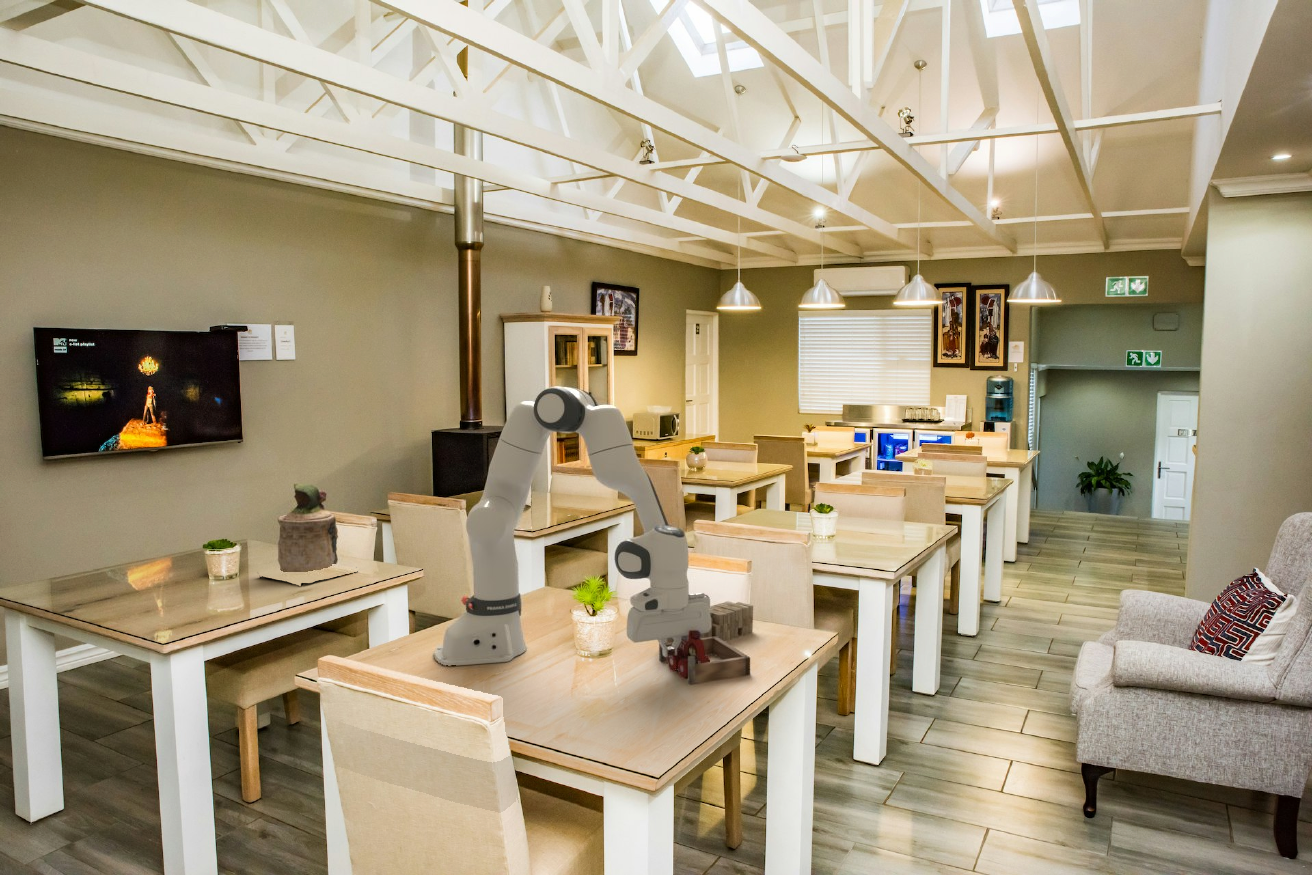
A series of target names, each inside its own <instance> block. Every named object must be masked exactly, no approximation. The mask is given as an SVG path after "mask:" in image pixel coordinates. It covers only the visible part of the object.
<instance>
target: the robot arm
mask: <svg viewBox="0 0 1312 875" xmlns="http://www.w3.org/2000/svg"><path fill="white" fill-rule="evenodd" d="M554 432H556V433H563V434H572V433H577V434H578V435H580V436H581V438H582V439H583V441H584V444H585V447H586V451H587V455H588V460H589V465H590V467H591V471H592V473H593V475H594V477H595V479H596V480H597V481H598V482H599V483H600V484H602V485H603V486H605V487H606V488H608V489H611V490H614V491H618V492H620V493H622V495H625V496H626V497H628V498H629V500H631V502H632V503H633V505H634V507H635V510H636V512H637V515H638V518H639V519H638V520H639V521H640V523H641V526H642V529H643V534H641V535H638V536H633V537H631V538H627V539H625V540H623V541H621V542H619V544H618V545H617V547H616V549H615V551H614V563H615V566H616V569H617V571H618V572H619V573H620V575H621V576H623V577H624V578H625V579H629V580H641V579H648V580H649V581H650V582H649V583H650V584H649V585H650V587H648V588H646V589H644V590H643V591H640V592H638V593H636V594H634V595H632V596H631V597H630V601H629V602H630V605H631V606H632V607H631V608H630V609H628V610H629V611H628V613H627V619H626V636H627V638H628V639H629V640H630V641H631V642H633V643H635V644H636V643H643V642H649V641H657V642H658V645H659V644H660V645H661V647H662V654H663V656H664V657H668V656H675V655H677V648H678V646H679V644H680V642H681V636H687V635H689V631H690V630H698V631H699V632H700V633H708V632H709V631H710V629H711V616H710V610H709V608H710V607H711V598H710V597H709V595H708V594H706V593H705V592H699V593H689V592H690V590H689V583H690V582H689V578H688V570H689V566H690V564H689V545H688V539H687V536H686V532H684V531H683V530H682V529H681V528H679V527H677V526H675V525H674V526H673V525H669V523H668V521H667V518H666V515H665V512H664V510H663V508H662V505H661V501H660V499H659V497H658V494H657V491H656V488H655V486H654V484H653V482H652V479H651V477H650V476H649V474H648V472H646V471H645V469H644V468H643V466H642V464H641V462H640V460H639V457H638V456H637V453H636V449H635V447H634V441H633V439H632V436H631V432H630V430H629V428H628V425H627V423H626V420H625V418H624V416H623V414H622V412H621V410H620V409H619V407H616V406H615V405H610V404H601V405H598V403H597V400H596V399H595V397H593V395H592V394H591V393H589V392H587V391H586V390H583V389H579V388H576V387H572V386H561V385H560V386H558V385H557V386H556V385H555V386H551V387H550V386H549V387H548V388H546V389H543V390H541V392H540V393H539V394H538V395H537V396H536V398H535V401H533V400H526V401H520V402H518V403H517V404H516V405H515V406H514V407H513V410H512V411H511V413H510V414H509V416H508V418H507V420H506V422H505V423H504V426H503V429H502V431H501V434H500V436H499V438H498V442H497V445H496V447H495V449H494V452H493V456H492V459H491V461H490V464H489V466H488V472H487V478H486V482H485V486H484V488H483V489H484V490H483V493H482V495H481V497H480V500H479V502H478V503H476V504H474V505H473V506H472V507H471V509H470V511H469V512H468V514H467V518H466V521H465V522H466V523H465V526H466V527H465V528H466V532H467V536H468V544H469V550H470V554H471V555H470V556H471V562H472V569H473V570H472V571H473V573H472V574H473V575H472V576H473V577H472V578H473V595H472V596H471V597H469V596H468V595H464V596H462V597H461V600H460V601H461V603H462V604H463V605H464V606H465V612H463V614H462V615H461V616H459V617H458V618H457V619H456V620H455V621H454V622H452V623H451V624H449V626H448V627H446V629H445V632H444V637H443V641H442V645H438V646H437V647H436V648H435V649H434V651H433V652H434V653H433V657H434V659H435V661H438V663H439V664H440V663H441V664H440V665H442V664H443V665H442V666H446V665H448V666H447V667H452V666H451V665H456V666H467V665H478V664H479V665H480V664H482V665H483V664H494V663H506V662H510V661H511V660H513V659H514V658H515V657H517V656H519V655H522V654H524V652H526V650H527V644H526V641H525V638H524V633H523V627H522V621H521V616H522V597H521V595H522V594H521V593H520V590H519V589H520V587H519V586H520V585H519V584H520V583H519V582H520V581H519V562H518V558H517V551H516V545H515V530H516V529H517V528H518V526H519V524H520V522H521V519H522V516H523V513H524V510H525V507H526V503H527V500H528V497H529V494H530V491H531V490H530V489H531V486H532V483H533V480H534V478H535V474H536V473H537V468H538V467H539V463H540V461H541V457H542V455H543V452H544V449H545V447H546V444H547V441H548V439H549V438H550V436H551V435H552V434H553V433H554ZM667 638H673V639H674V641H673V643H672V646H671V647H666V645H665V643H667Z"/></svg>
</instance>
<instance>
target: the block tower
mask: <svg viewBox="0 0 1312 875" xmlns="http://www.w3.org/2000/svg"><path fill="white" fill-rule="evenodd" d="M709 610H710V616H711V629H710V631H709V632H708V633H701V637H700V638H705V637H712V636H716V637H718V638H719V639H721V640H723V641H724V642H725V641H726V642H729V641H731V640H733V639H737V638H738V637H739V636H741V637H743V636H745V635H748V634H753V629H754V628H753V627H754V625H753V624H754V605H753V604H750V603H744V602H740V601H738V602H732V601H729V600H728V601H725V602H721V603H718V604H714V605H710V608H709ZM673 641H674V639H673V638H667V643H671V642H673Z"/></svg>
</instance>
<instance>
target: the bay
mask: <svg viewBox="0 0 1312 875" xmlns="http://www.w3.org/2000/svg"><path fill="white" fill-rule="evenodd" d="M700 639H702V641H703V644H704V649H705V653H706V656H708V655H709V656H710V655H714V656H716V657H717V658H718V659H719V660H713V661H712V660H711V661H710V662H705V663H699V664H695V657H694V656H688V677H687V684H689V685H695V683H696V684H701V683H700V682H702V683H706V682H713V681H719V680H724V679H731V678H737V677H738V678H739V677H742V676H749V675H751V657H750V656H748V654H745V653H744V652H742V651H740V650H739V649H737V648H735V647H734V646H732V645H731V644H729V643H727V641H726V642H724V641H723V640H721V639H719V638H718V637H716V636H712V637H705V638H700ZM672 643H673V642H671V643H665V645H666V647H671V646H672ZM658 649H659V650H658V651H659V653H658V654H659V657H658V658H659V659H658V660H659V661H660V662H661V663H663V662H668V660H667V659H668V657H664V656H663V654H662V647H661V645H660V644H659V643H658Z"/></svg>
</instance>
